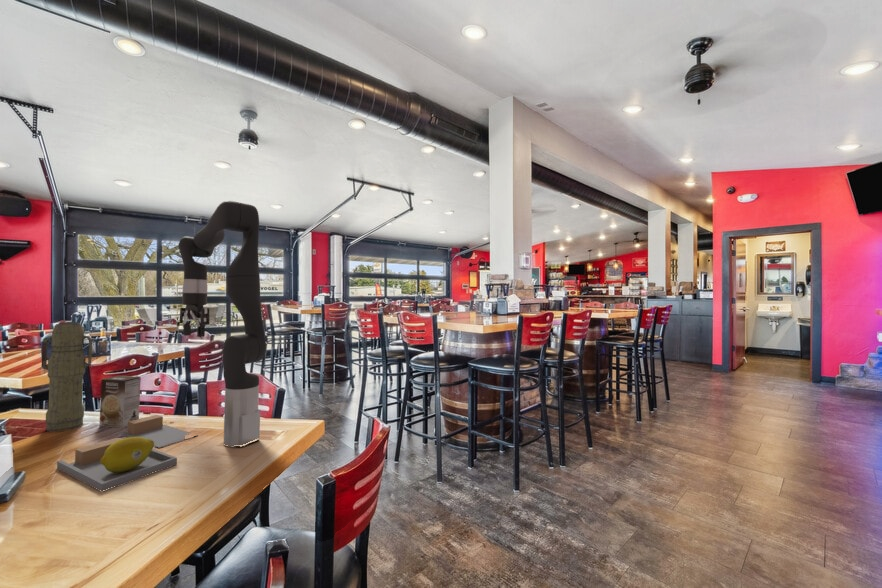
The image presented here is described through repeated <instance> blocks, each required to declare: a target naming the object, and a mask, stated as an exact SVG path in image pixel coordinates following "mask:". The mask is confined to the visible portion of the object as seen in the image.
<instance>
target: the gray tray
mask: <svg viewBox="0 0 882 588" xmlns="http://www.w3.org/2000/svg"><path fill="white" fill-rule="evenodd" d="M121 439H122V438H121V437H116V438H112V439H109V440H108V439H107V440H104V441H101V442H97V443H94V444H90V445H86V446H83V447H78V448H75V449H74V451H75V453H74V454H75V455H74V456H75V457H74V461H73V462H70V463H68V462H66V461H64V460H62V459H61V460H60V459H59V460H57V462H56V469H57V470H60V471H62V472H63V473H65V474H67V475H69V476H70V477H73V478H75V479H77V480H78V481H79V482H80V481H81V482H82V483H84V482H85V483H84V484H86V483H87V484H86V485H88V484H89V485H88V486H90V485H91V486H93V487H95V488H97V489H99V490H101V491H103V490H106V489H108V488H111V487H114V486H117V487H119V486H118V485H120V486H122V485H124V483H125V484H128V483H130V482H129V481H131V482H133V481H135V479H136V480H138V479H137V478H139V479H141V478H143V477H142V476H144V477H146V476H145V475H147V474H150V473H152V472H155V471H158V470H161V469H163V470H165V469H164V468H166V469H168V468H167V467H169V468H171V467H174V466H176V465H175V464H178V457H176V456H173V455H171V454H168V453H165V452H162V451H160V450H158V449H154V448H153V449H152V450H151V452H150V453H149V455H148V457H147V458H146V459H145V461H143V462H142V463H141V464H140V465H138V466H137V467H135V468H133V469H131V470H129V471H125V472H120V473H113V472H110V471H108V470H106V468H105V466H104V465H102V464H101V463H100V460H101V458H102V457H103V456H104V453H105V451H106V450H107V448H108V447H109V446H110V445H112V444H113V443H115V442H117V441H119V440H121ZM173 465H174V466H173ZM170 466H171V467H170ZM161 471H162V470H161ZM158 472H159V471H158ZM155 473H156V472H155ZM152 474H153V473H152ZM150 475H151V474H150ZM147 476H148V475H147ZM140 477H141V478H140ZM132 480H133V481H132ZM127 482H128V483H127ZM121 484H122V485H121ZM91 486H90V487H91ZM93 487H92V488H93ZM95 488H94V489H95ZM114 488H115V487H114ZM97 489H96V490H97ZM99 490H98V491H99ZM101 491H100V492H101ZM106 491H107V490H106ZM103 492H104V491H103Z"/></svg>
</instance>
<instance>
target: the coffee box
mask: <svg viewBox="0 0 882 588" xmlns="http://www.w3.org/2000/svg"><path fill="white" fill-rule="evenodd" d="M100 383H101V384H100V404H99V405H100V406H99V427H109V428H122V429H123V428H126V427H128V421H133V420H137V419H140V418H139V417H140V401H141V400H140V397H141V376H133V375H115V376H110V377H106V378H102V379H101V382H100Z"/></svg>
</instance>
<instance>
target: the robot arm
mask: <svg viewBox="0 0 882 588" xmlns="http://www.w3.org/2000/svg"><path fill="white" fill-rule="evenodd" d="M225 230H228V231H231V232H236V233H237V232H238V233H242V243H241V244H242V245H241V247H240V249H239V251H238V252H237V254H236V256H235V257H234V258H233V260H232V261H231V263H230V265H229V267H228V268H227V271H226V288H227V289H226V291H227V295H228V296H229V297H228V298H229V299H230V300H231V302H232V304H233V306H234V307H235V309H236V310H237V311H238V313H239V314H240V316H241V317H242V321H243V324H244V333H243V334H234V335H230V336H228V337H227V338H226V339H225V340H224V342H223V345H222V374H223V378H224V379H223V380H224V384H225V386H224V387H225V389H224V391H225V392H224V411H223V412H224V414H223V415H224V416H223V417H224V419H223V445H224V444H225V445H228V446H234V445H243V444H246V443H248V442H250V441H253V440H255V439H257V438H259V439H260V437H261V436H260V435H261V434H260V432H261V427H260V426H261V425H260V424H261V410H260V409H259V404H260V403H259V399H260V398H259V396H260V395H259V394H260V376H259V375H257V374H256V373H254V374H253V373H249V372H247V368H246V365H247V364H254V363H258V362H261V361H262V360H263V359H264V358H265V355H266V352H267V341H266V340H267V339H266V335H265V334H266V333H265V328H264V322H263V321H264V320H263V313H262V303H261V301H262V300H261V280H260V276H261V275H260V266H259V265H260V264H259V235H260V234H259V233H260V232H259V231H260V215H259V211H258V209H257V207H256V206H254V205H252V204H249V203H243V202H237V201H233V200H224V201H222V202H221V203H220V204H218V206H217V207H216V208H215V210H214V212H213V213H212V215H211V216H210V218H209V220H208V221H207V223H206V225H205V226H203V228H201V229H200V230H199V231H197V232H196V234H195V235H194V237H193V236H183V237H182V238H181V239H180V240H179V242H178V249H179V250H178V251H179V253H180V257H181V261H182V265H183V282H182V283H183V284H182V295H181V296H182V299H181V302H182V303H181V304H182V305H184V307H182V306H181V307H180V309H179V324H181V325H182V326H183V330H182V331H183V332H182V335H183V336H185V337H186V336H187V337H188V336H191V335H192V323H193V322H195V323H196V326H197V327H196V328H197V329H196V333H197V334H196V336H197V338H203V337H205V335H206V326H207V325H210V308H209V307H205V308H204V306H207V304H208V266H207V265H206V264H204V263H201V262H197V261H195V260H194V258H193V257H195V258H201V259H202V258H203V259H205V258H210V257H211V256H213V254H214V250H215V247H218V246H219V245H220V244H221V243H222V242H223V241H224V239H225ZM225 445H224V446H225Z"/></svg>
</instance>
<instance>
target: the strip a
mask: <svg viewBox="0 0 882 588" xmlns="http://www.w3.org/2000/svg"><path fill="white" fill-rule="evenodd" d="M163 420H164V417H163V416H162V415H158V414H155V415H149V416H145V417H141V418H139V419H137V420H133V421H128V426H127V432H123V433H121V434H120V435H121V436H123V437H125V438H129V437H142V438H146V439H150V440H153V441H154V446H155V447H154V448H156V447H158V448H157V449H161V447H162V448H165V447H167V445H168V446H171V445H174V444H177V443H176V442H178V443H180V442H179V441H181V440H184V439H185V435H187V433H188V435H189V433H191V432H189V431H187V430H183V429H179V428H177V427H173V426H170V425H167V424H164V422H163ZM163 424H164V425H163ZM184 441H185V440H184ZM181 442H182V441H181ZM173 443H174V444H173ZM170 444H171V445H170ZM164 446H165V447H164Z"/></svg>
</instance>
